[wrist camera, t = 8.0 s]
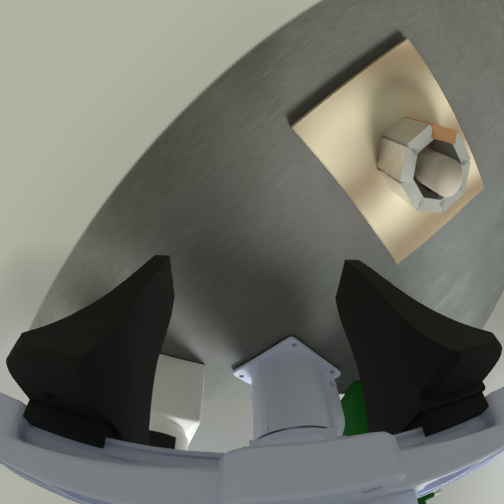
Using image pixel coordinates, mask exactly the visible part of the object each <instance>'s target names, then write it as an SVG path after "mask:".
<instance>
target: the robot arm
mask: <svg viewBox="0 0 504 504" xmlns="http://www.w3.org/2000/svg"><path fill="white" fill-rule="evenodd" d="M174 296H175V295H174V288H173V280H172V272H171V263H170V256H164V255H155V256H154V257H152V258H151V259H150V260H149V261H148V262H146V263H145V264H144V265H143V266H142V267H140V268H139V269H138V270H137V271H136V272H135V273H133V274H132V275H131V276H130V277H129V278H127V279H126V280H125V281H124V282H122V283H121V284H120V285H118V286H117V287H116V288H114V289H113V290H112V291H111V292H109V293H108V294H106V295H105V296H103V297H102V298H100V299H99V300H97V301H96V302H94V303H92V304H91V305H89V306H87V307H85V308H83V309H81V310H80V311H78V312H76V313H74V314H72V315H70V316H68V317H66V318H63V319H61V320H59V321H56V322H54V323H51V324H49V325H46V326H43V327H40V328H37V329H34V330H30V331H27V332H24V333H22V334H21V336H20V337H19V339H18V340H17V342H16V344H15V345H14V347H13V349H12V350H11V352H10V354H9V356H8V357H7V359H6V364H7V367H8V370H9V372H10V374H11V375H12V377H13V379H14V380H15V381H16V382H17V384H18V385H19V386H20V388H21V389H22V390H23V391H24V393H25V394H26V395H27V396H28V398H29V399H30V400H29V402H28V405H27V406H26V405H25V404H24V403H22V402H21V401H19V400H16V399H14V398H12V397H9V396H7V395H5V394H3V393H0V463H1V464H2V465H4V466H5V467H7V468H8V469H9V470H11V471H12V472H14V473H15V474H17V475H19V476H21V477H23V478H24V479H26V480H29V481H30V482H33V483H34V484H36V485H39V486H40V487H43V488H45V489H47V490H49V491H51V492H53V493H56V494H58V495H60V496H63V497H65V498H67V499H70V500H72V501H75V502H77V503H80V504H418V501H417V498H420V497H422V496H425V495H427V494H429V493H431V492H434V491H436V490H438V489H440V488H442V487H444V486H446V485H448V484H450V483H452V482H454V481H456V480H458V479H460V478H462V477H464V476H465V475H467V474H469V473H471V472H473V471H474V470H476V469H478V468H480V467H481V466H483V465H485V464H486V463H488V462H489V461H491V460H493V459H494V458H495V457H497V456H498V455H499V454H501V453H502V452H503V451H504V387H502V388H500V389H498V390H496V391H494V392H492V393H490V394H489V395H487V396H486V397H484V395H483V393H482V391H484V390H485V385H484V384H483V382H482V381H483V380H484V379H485V378H486V376H487V375H488V374H489V372H490V371H491V370H492V369H493V367H494V366H495V364H496V363H497V361H498V360H499V358H500V356H501V352H502V346H501V344H500V342H499V341H498V340H497V338H496V337H495V335H494V334H493V333H492V332H488V331H485V330H481V329H478V328H474V327H471V326H468V325H465V324H462V323H460V322H457V321H455V320H452V319H450V318H448V317H446V316H444V315H441V314H439V313H437V312H435V311H433V310H431V309H429V308H428V307H426V306H424V305H423V304H421V303H419V302H417V301H416V300H414V299H413V298H411V297H410V296H408V295H407V294H405V293H404V292H402V291H401V290H399V289H398V288H397V287H395V286H394V285H392V284H391V283H390V282H388V281H387V280H386V279H384V278H383V277H382V276H380V275H379V274H378V273H376V272H375V271H374V270H372V269H371V268H370V267H368V266H367V265H365V264H364V263H362V262H361V261H359V260H345V263H344V267H343V271H342V275H341V279H340V283H339V287H338V291H337V295H336V298H335V299H336V303H337V308H338V312H339V316H340V320H341V322H342V325H343V328H344V331H345V333H346V336H347V338H348V341H349V344H350V346H351V349H352V352H353V355H354V357H355V360H356V364H357V367H358V371H359V376H360V380H361V385H362V390H363V396H364V402H365V410H366V418H367V429H368V433H365V434H360V435H354V436H348V437H347V436H346V435H342V434H343V431H344V427H345V417H344V413H343V409H342V405H341V401H340V398H339V394H338V390H337V386H336V382H335V378H337V377H339V376H340V375H341V372H340V370H338V369H337V368H335V367H334V366H333V365H331V364H330V363H328V362H327V361H326V360H324V359H323V358H322V357H320V356H319V355H318V354H316V353H315V352H313V351H312V350H311V349H309V348H308V347H307V346H305V345H304V344H303V343H301V342H300V341H299V340H297V339H296V338H295V337H288V338H286V339H285V340H283V341H282V342H280V343H278V344H277V345H275V346H274V347H272V348H270V349H269V350H267V351H266V352H264V353H262V354H261V355H259V356H257V357H256V358H254V359H252V360H251V361H249V362H247V363H246V364H244V365H242V366H240V367H239V368H237V369H235V370H234V372H233V374H234V375H235V376H236V377H238V378H240V379H242V380H243V381H245V382H247V383H249V384H251V385H252V407H253V429H254V430H253V431H254V440H250V441H249V443H250V446H248V447H242V448H239V449H236V450H232V451H229V452H228V453H214V452H197V451H187V450H177V449H168V448H161V447H154V446H149V425H150V412H151V402H152V393H153V385H154V379H155V372H156V367H157V362H158V358H159V355H160V351H161V348H162V345H163V341H164V338H165V335H166V332H167V328H168V325H169V322H170V318H171V314H172V309H173V302H174ZM294 343H295V344H294Z"/></svg>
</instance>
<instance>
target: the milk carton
mask: <svg viewBox="0 0 504 504" xmlns="http://www.w3.org/2000/svg"><path fill="white" fill-rule="evenodd" d="M341 405H342V409H343V413H344V417H345V427H344V431H343V434H342V435H346V436H347V437H348V436H354V435H360V434H365V433H368V429H367V418H366V410H365V402H364V396H363V390H362V385H361V382H353V384H352V385H351V387H350V388H349V389H348V391H347V392H346V394H345V395H344V397H343V398H342V400H341ZM441 492H442V490H441V488H440V489H438V490H436V491H434V492H431V493H429V494H427V495H425V496H422V497H420V498H417V501H418V504H426V502H425V501H426V500H428V499H430V498H432V497H434V496H436V495H438V494H439V493H441Z"/></svg>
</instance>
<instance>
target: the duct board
mask: <svg viewBox="0 0 504 504" xmlns="http://www.w3.org/2000/svg"><path fill="white" fill-rule="evenodd" d="M404 117H407V118H412V119H416V120H420V121H424V122H428V123H432V124H436V125H439V126H443V127H446V128H449V129H453V130H456V131H457V132H458V133H459V134H460V136H461V138H462V140H463V143H464V145H465V147H466V149H467V152H468V154H469V156H470V160H469V161H470V162H471V163H470V168H469V173H468V178H467V183H466V187H465V191H462V192H463V194H462V195H461V196H460V197H459V198H458V199H457V200H456V201H455V202H454V203H453V204H452V205H451V206H450V207H449V208H448V209H446V210H445V211H444V212H443V211H442V212H441V213H435V212H424V211H417V210H416V209H414V208H413V207H412V206H410V205H409V204H408V203H407V202H405V201H404V200H403V199H401V198H400V197H399V196H398V195H396V194H395V193H394V192H392V191H391V189H390V188H389V186H388V185H387V183H386V182H385V180H384V179H383V177H382V176H381V174H380V173H379V171H378V170H377V169H378V167H377V159H378V152H379V144H380V137H383V136H382V134H383V133H384V132H385V131H386V130H388V129H389V128H390V127H391V126H392V125H394V124H395V123H396V122H397V121H398V120H400V119H401V118H404ZM290 127H291V128H292V129H293V130H294V131H295V133H296V134H297V135H298V136H299V137H300V138H301V139H302V140H303V142H304V143H305V144H306V145H307V146H308V147H309V148H310V150H311V151H312V152H313V153H314V154H315V155H316V157H317V158H318V159H319V160H320V161H321V163H322V164H323V165H324V166H325V167H326V169H327V170H328V171H329V172H330V173H331V175H332V176H333V177H334V178H335V180H336V181H337V182H338V183H339V185H340V186H341V187H342V189H343V190H344V191H345V192H346V194H347V195H348V196H349V198H350V199H351V200H352V202H353V203H354V204H355V205H356V207H357V208H358V209H359V211H360V212H361V214H362V215H363V216H364V218H365V219H366V220H367V222H368V223H369V225H370V226H371V227H372V229H373V230H374V232H375V233H376V234H377V236H378V237H379V239H380V240H381V242H382V243H383V245H384V246H385V248H386V249H387V250H388V252H389V253H390V255H391V256H392V258H393V259H394V261H395V262H396V263H397V264H398V263H400V262H401V261H402V260H403V259H405V258H406V257H407V256H408V255H410V254H411V253H412V252H413V251H414V250H416V249H417V248H418V247H419V246H420V245H422V244H423V243H424V242H425V241H426V240H427V239H429V238H430V237H431V236H432V235H433V234H434V233H435V232H437V231H438V230H439V229H440V228H441V227H442V226H443V225H444V224H446V223H447V222H448V221H449V220H450V219H451V218H452V217H453V216H454V215H455V214H457V213H458V212H459V211H460V210H461V209H462V208H463V207H464V206H465V205H466V204H467V203H468V202H469V201H470V200H471V199H472V198H473V197H474V196H475V195H476V194H477V193H478V192H479V191H480V190H481V189H482V188H483V187H484V186H483V183H482V180H481V177H480V174H479V171H478V169H477V166H476V163H475V161H474V158H473V156H472V153H471V151H470V148H469V146H468V143H467V141H466V139H465V137H464V134H463V132H462V130H461V128H460V126H459V124H458V121H457V119H456V117H455V115H454V113H453V111H452V109H451V107H450V106H449V104H448V102H447V100H446V98H445V96H444V94H443V93H442V91H441V89H440V87H439V86H438V84H437V82H436V80H435V79H434V77H433V75H432V74H431V72H430V71H429V69H428V67H427V66H426V64H425V63H424V61H423V60H422V58H421V57H420V55H419V54H418V52H417V51H416V49H415V48H414V46H413V45H412V44H411V42H410V41H409V39H406V40H402V41H401V42H399V43H398V44H396V45H395V46H393V47H392V48H391V49H389V50H388V51H386V52H385V53H384V54H382V55H381V56H379V57H378V58H377V59H375V60H374V61H372V62H371V63H370V64H368V65H367V66H366V67H364V68H363V69H362V70H360V71H359V72H358V73H356V74H355V75H354V76H352V77H351V78H350V79H348V80H347V81H346V82H345V83H343V84H342V85H341V86H339V87H338V88H337V89H336V90H334V91H333V92H332V93H330V94H329V95H328V96H327V97H325V98H324V99H323V100H322V101H320V102H319V103H318V104H317V105H316V106H314V107H313V108H312V109H311V110H309V111H308V112H307V113H306V114H305V115H303V116H302V117H301V118H300V119H299V120H297V121H296V122H295V123H294V124H293V125H291V126H290ZM383 138H384V137H383ZM413 179H414V181H415V183H416V182H417V181H419V182H420V183H422V184H424V185H425V186H427V187H428V188H430V189H432V190H433V191H435V192H436V193H438V194H439V195H441V196H443V197H450V196H452V195H454V194H455V193H456V192H457V191H458V190H459V188H460V186H461V183H462V179H463V171H462V168H461V165H460V164H459V162H458V161H456V160H455V159H453V158H450V157H448V156H446V155H444V154H441V153H439V152H436V151H434V150H432V148H431V146H430V144H428V145H427V146H426V147H424V148H423V149H422V150H421V151H420V152H419V153H418V154H417V160H416V166H415V172H414V177H413Z"/></svg>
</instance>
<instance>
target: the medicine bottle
mask: <svg viewBox="0 0 504 504" xmlns="http://www.w3.org/2000/svg"><path fill="white" fill-rule="evenodd" d="M204 377H205V366H204V365H203V364H199V363H195V362H190V361H186V360H182V359H178V358H174V357H170V356H166V355H163V354H160V355H159V358H158V362H157V367H156V372H155V379H154V385H153V393H152V402H151V412H150V425H149V446H154V447H161V448H168V449H177V450H187V451H188V444H189V443H190V441H191V439H192V437H193V435H194V433H195V431H196V429H197V427H198V425H199V424H200V421H201V411H202V399H203V388H204Z"/></svg>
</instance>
